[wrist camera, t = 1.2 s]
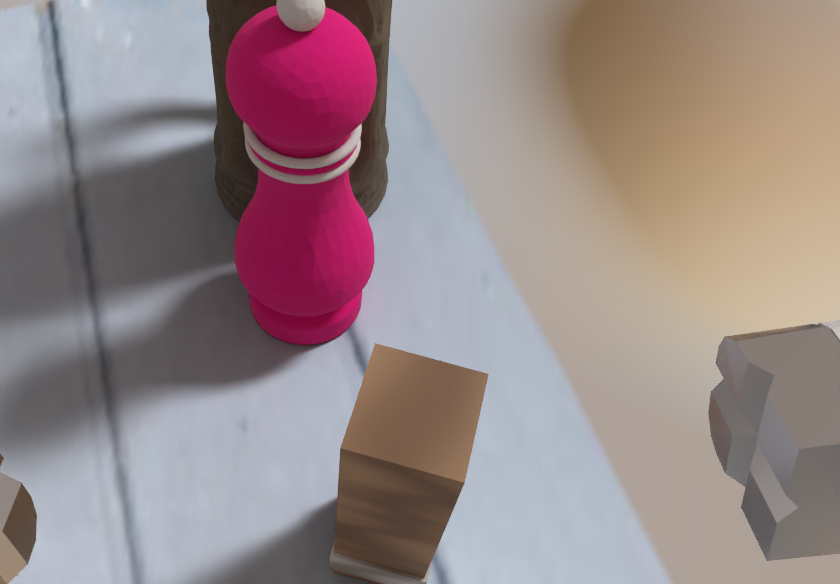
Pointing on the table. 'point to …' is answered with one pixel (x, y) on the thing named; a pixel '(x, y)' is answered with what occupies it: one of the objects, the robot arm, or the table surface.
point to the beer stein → (235, 171)
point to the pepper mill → (302, 167)
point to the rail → (403, 465)
